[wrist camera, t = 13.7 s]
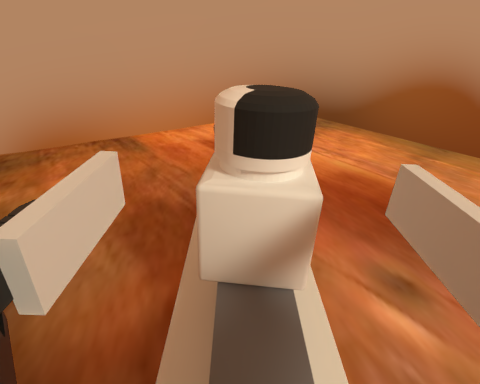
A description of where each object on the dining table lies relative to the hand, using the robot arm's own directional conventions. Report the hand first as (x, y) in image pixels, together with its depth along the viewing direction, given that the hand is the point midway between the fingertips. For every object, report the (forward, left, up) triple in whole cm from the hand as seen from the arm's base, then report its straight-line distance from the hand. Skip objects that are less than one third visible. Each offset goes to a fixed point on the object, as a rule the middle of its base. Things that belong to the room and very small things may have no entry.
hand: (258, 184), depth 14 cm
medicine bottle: (-5, -1, -8) cm, 10 cm away
